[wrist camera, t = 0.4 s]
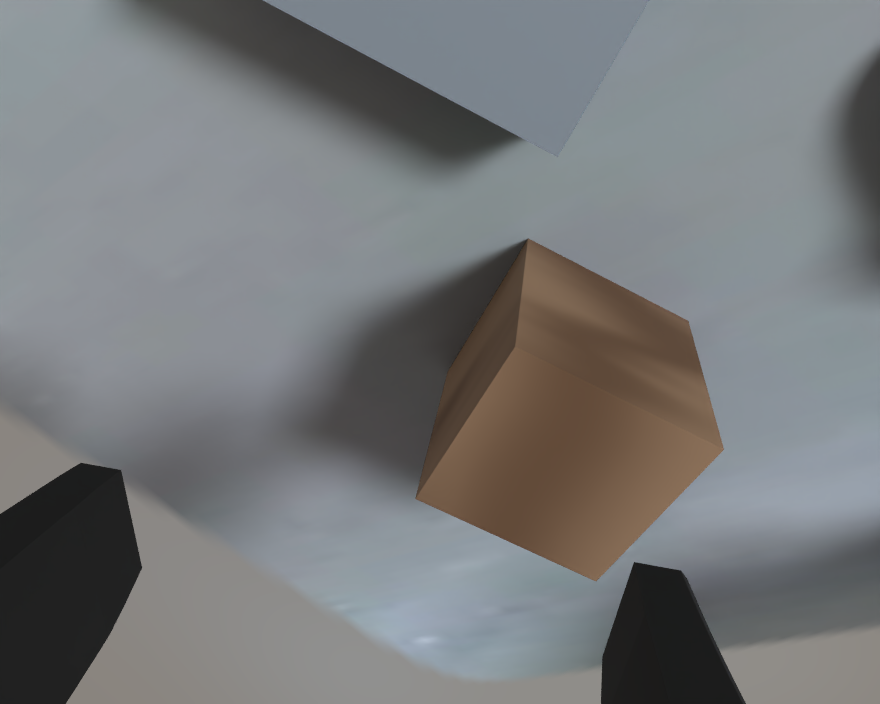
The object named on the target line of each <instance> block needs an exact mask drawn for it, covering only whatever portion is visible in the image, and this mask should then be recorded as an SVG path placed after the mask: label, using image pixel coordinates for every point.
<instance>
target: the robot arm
mask: <svg viewBox="0 0 880 704" xmlns="http://www.w3.org/2000/svg"><path fill="white" fill-rule="evenodd" d="M141 569H142V566H141V561H140V556H139V552H138V547H137V542H136V538H135V533H134V528H133V524H132V519H131V515H130V510H129V505H128V501H127V496H126V491H125V486H124V482H123V477H122V472H121V470H118V469H112V468H106V467H101V466H95V465H90V464H84V463H80V464H78V465H77V466H75V467H73V468H72V469H70V470H68V471H67V472H65V473H63V474H62V475H60V476H59V477H57V478H56V479H54V480H52V481H51V482H49V483H48V484H46V485H45V486H43V487H41V488H40V489H38V490H37V491H35V492H34V493H32V494H31V495H29V496H28V497H26V498H24V499H23V500H21V501H20V502H18V503H17V504H15V505H14V506H12V507H10V508H9V509H7V510H6V511H4V512H3V513H1V514H0V704H66V702H67V701H68V699H69V698H70V696H71V695H72V693H73V692H74V690H75V688H76V687H77V685H78V684H79V682H80V680H81V679H82V677H83V676H84V674H85V673H86V671H87V670H88V668H89V667H90V665H91V663H92V662H93V660H94V659H95V657H96V655H97V654H98V652H99V651H100V649H101V648H102V646H103V644H104V643H105V641H106V639H107V638H108V636H109V634H110V633H111V631H112V629H113V627H114V624H115V623H116V621H117V619H118V617H119V615H120V613H121V611H122V609H123V607H124V605H125V603H126V601H127V599H128V597H129V594H130V592H131V590H132V588H133V586H134V584H135V582H136V580H137V577H138V575H139V573H140V571H141ZM601 690H602V691H601V704H746V703H745V701H744V699H743V697H742V696H741V693H740V691H739V689H738V687H737V685H736V683H735V681H734V680H733V678H732V675H731V673H730V671H729V669H728V667H727V665H726V663H725V661H724V659H723V657H722V655H721V653H720V651H719V649H718V647H717V645H716V642H715V640H714V638H713V636H712V634H711V632H710V630H709V627H708V625H707V623H706V621H705V619H704V616H703V614H702V612H701V610H700V608H699V605H698V603H697V601H696V598H695V596H694V594H693V592H692V589H691V587H690V585H689V582H688V580H687V578H686V577H685V575H684V574H683V573H682V571H680V570H674V569H669V568H663V567H658V566H652V565H647V564H641V563H635V562H634V564H633V567H632V570H631V573H630V576H629V579H628V582H627V585H626V588H625V591H624V594H623V597H622V600H621V603H620V606H619V609H618V612H617V615H616V618H615V621H614V624H613V627H612V630H611V633H610V636H609V639H608V642H607V645H606V648H605V651H604V654H603V659H602V689H601Z"/></svg>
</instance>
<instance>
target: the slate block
mask: <svg viewBox="0 0 880 704" xmlns="http://www.w3.org/2000/svg"><path fill="white" fill-rule="evenodd" d="M263 1H265V2H267V3H269V4H271V5H272V6H274V7H276V8H278V9H280V10H282V11H284V12H286V13H287V14H289V15H291V16H293V17H295V18H297V19H299V20H301V21H302V22H304V23H306V24H308V25H310V26H312V27H314V28H316V29H318V30H319V31H321V32H323V33H325V34H327V35H329V36H331V37H333V38H334V39H336V40H338V41H340V42H342V43H344V44H346V45H348V46H350V47H351V48H353V49H355V50H357V51H359V52H361V53H363V54H365V55H366V56H368V57H370V58H372V59H374V60H376V61H378V62H380V63H381V64H383V65H385V66H387V67H389V68H391V69H393V70H395V71H397V72H398V73H400V74H402V75H404V76H406V77H408V78H410V79H412V80H413V81H415V82H417V83H419V84H421V85H423V86H425V87H427V88H429V89H430V90H432V91H434V92H436V93H438V94H440V95H442V96H444V97H445V98H447V99H449V100H451V101H453V102H455V103H457V104H459V105H460V106H462V107H464V108H466V109H468V110H470V111H472V112H474V113H476V114H477V115H479V116H481V117H483V118H485V119H487V120H489V121H491V122H492V123H494V124H496V125H498V126H500V127H502V128H504V129H506V130H508V131H509V132H511V133H513V134H515V135H517V136H519V137H521V138H523V139H524V140H526V141H528V142H530V143H532V144H534V145H536V146H538V147H539V148H541V149H543V150H545V151H547V152H549V153H551V154H553V155H555V156H556V157H558V156H559V154H560V152H561V151H562V149H563V147H564V146H565V144H566V142H567V140H568V139H569V137H570V135H571V134H572V132H573V130H574V128H575V127H576V125H577V123H578V122H579V120H580V118H581V116H582V115H583V113H584V111H585V110H586V108H587V106H588V104H589V103H590V101H591V99H592V98H593V96H594V94H595V92H596V91H597V89H598V87H599V86H600V84H601V82H602V81H603V79H604V77H605V75H606V74H607V72H608V70H609V69H610V67H611V65H612V63H613V62H614V60H615V58H616V57H617V55H618V53H619V51H620V50H621V48H622V46H623V45H624V43H625V41H626V39H627V38H628V36H629V34H630V33H631V31H632V29H633V27H634V26H635V24H636V22H637V21H638V19H639V17H640V15H641V14H642V12H643V10H644V9H645V7H646V5H647V4H648V2H649V0H263Z"/></svg>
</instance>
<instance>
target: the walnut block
mask: <svg viewBox="0 0 880 704" xmlns="http://www.w3.org/2000/svg"><path fill="white" fill-rule="evenodd" d="M723 450H724V448H723V444H722V441H721V437H720V434H719V430H718V426H717V423H716V419H715V416H714V412H713V408H712V405H711V401H710V398H709V394H708V390H707V387H706V383H705V380H704V376H703V372H702V369H701V365H700V362H699V358H698V354H697V351H696V347H695V344H694V340H693V336H692V333H691V329H690V326H689V322H688V321H687V320H685V319H683V318H681V317H680V316H678V315H676V314H674V313H672V312H670V311H668V310H666V309H664V308H662V307H660V306H658V305H656V304H654V303H652V302H650V301H648V300H647V299H645V298H643V297H641V296H639V295H637V294H635V293H633V292H631V291H629V290H627V289H625V288H623V287H621V286H619V285H617V284H615V283H614V282H612V281H610V280H608V279H606V278H604V277H602V276H600V275H598V274H596V273H594V272H592V271H590V270H588V269H586V268H584V267H582V266H581V265H579V264H577V263H575V262H573V261H571V260H569V259H567V258H565V257H563V256H561V255H559V254H557V253H555V252H553V251H551V250H549V249H547V248H546V247H544V246H542V245H540V244H538V243H536V242H534V241H532V240H530V239H528V240H527V241H526V243H525V244H524V246H523V248H522V249H521V251H520V253H519V254H518V256H517V258H516V259H515V261H514V263H513V264H512V266H511V268H510V269H509V271H508V273H507V274H506V276H505V278H504V279H503V281H502V283H501V284H500V286H499V288H498V289H497V291H496V293H495V294H494V296H493V298H492V299H491V301H490V303H489V304H488V306H487V308H486V309H485V311H484V313H483V314H482V316H481V317H480V319H479V321H478V322H477V324H476V326H475V327H474V329H473V331H472V332H471V334H470V336H469V337H468V339H467V341H466V342H465V344H464V346H463V347H462V349H461V351H460V352H459V354H458V356H457V357H456V359H455V361H454V362H453V364H452V366H451V367H450V369H449V371H448V372H447V376H446V380H445V384H444V388H443V392H442V396H441V400H440V404H439V408H438V412H437V416H436V420H435V424H434V427H433V431H432V435H431V439H430V443H429V447H428V451H427V455H426V459H425V463H424V467H423V471H422V475H421V479H420V483H419V486H418V490H417V494H416V498H415V499H417V500H419V501H421V502H424V503H426V504H428V505H430V506H432V507H434V508H437V509H439V510H441V511H443V512H445V513H448V514H450V515H452V516H454V517H456V518H459V519H461V520H463V521H465V522H467V523H469V524H472V525H474V526H476V527H478V528H480V529H483V530H485V531H487V532H489V533H491V534H493V535H496V536H498V537H500V538H502V539H504V540H507V541H509V542H511V543H513V544H515V545H518V546H520V547H522V548H524V549H526V550H528V551H531V552H533V553H535V554H537V555H539V556H542V557H544V558H546V559H548V560H550V561H552V562H555V563H557V564H559V565H561V566H563V567H566V568H568V569H570V570H572V571H574V572H577V573H579V574H581V575H583V576H585V577H587V578H590V579H592V580H594V581H597V580H598V579H599V578H600V577H601V576H602V575H603V574H604V573H605V572H606V571H607V570H608V568H609V567H610V566H611V565H612V564H613V563H614V562H615V561H616V560H617V559H618V558H619V557H620V556H621V555H622V554H623V553H624V552H625V551H626V550H627V549H628V548H629V547H630V546H631V545H632V544H633V543H634V542H635V541H636V540H637V539H638V538H639V537H640V536H641V534H642V533H643V532H644V531H645V530H646V529H647V528H648V527H649V526H650V525H651V524H652V523H653V522H654V521H655V520H656V519H657V518H658V517H659V516H660V515H661V514H662V513H663V512H664V511H665V510H666V509H667V508H668V507H669V506H670V505H671V504H672V503H673V502H674V500H675V499H676V498H677V497H678V496H679V495H680V494H681V493H682V492H683V491H684V490H685V489H686V488H687V487H688V486H689V485H690V484H691V483H692V482H693V481H694V480H695V479H696V478H697V477H698V476H699V475H700V474H701V473H702V472H703V471H704V470H705V469H706V468H707V466H708V465H709V464H710V463H711V462H712V461H713V460H714V459H715V458H716V457H717V456H718V455H719V454H720V453H721V452H722V451H723Z"/></svg>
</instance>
